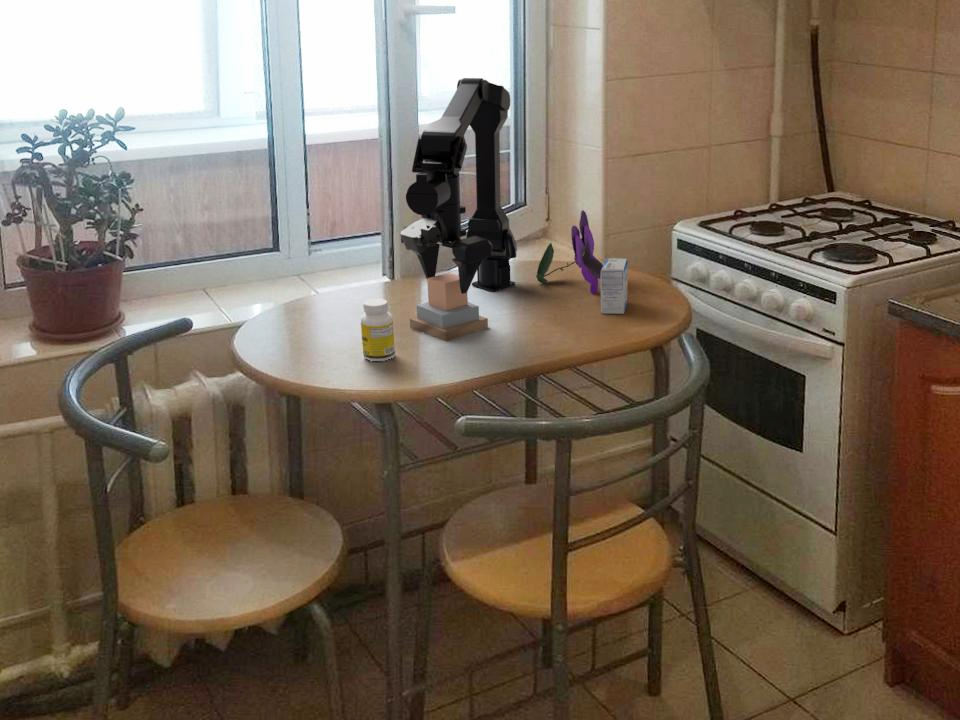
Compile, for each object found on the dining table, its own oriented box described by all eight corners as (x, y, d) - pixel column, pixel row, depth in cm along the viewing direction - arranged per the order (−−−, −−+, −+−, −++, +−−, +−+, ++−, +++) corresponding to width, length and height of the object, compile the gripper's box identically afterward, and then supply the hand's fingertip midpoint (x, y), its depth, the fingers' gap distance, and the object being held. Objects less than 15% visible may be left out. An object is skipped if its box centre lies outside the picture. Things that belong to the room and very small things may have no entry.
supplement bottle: (363, 352, 192) (359, 297, 188) (395, 350, 192) (391, 296, 188) (363, 363, 186) (359, 307, 183) (395, 361, 187) (392, 306, 183)
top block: (417, 318, 202) (416, 305, 202) (453, 309, 207) (452, 296, 206) (442, 329, 196) (442, 315, 196) (479, 319, 201) (478, 306, 200)
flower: (543, 320, 221) (603, 293, 215) (508, 253, 218) (567, 224, 212) (561, 298, 234) (618, 272, 228) (528, 234, 231) (585, 207, 225)
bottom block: (410, 331, 203) (409, 318, 202) (452, 319, 209) (451, 306, 208) (445, 344, 196) (445, 331, 195) (488, 331, 202) (487, 318, 201)
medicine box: (624, 315, 206) (625, 270, 203) (600, 314, 207) (600, 269, 204) (627, 302, 214) (628, 258, 211) (604, 301, 215) (604, 257, 211)
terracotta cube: (428, 305, 201) (427, 278, 200) (450, 298, 204) (448, 272, 203) (446, 310, 198) (444, 283, 196) (467, 304, 201) (466, 277, 199)
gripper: (374, 201, 196) (379, 287, 201) (443, 218, 183) (446, 309, 188) (423, 191, 203) (427, 274, 208) (493, 207, 190) (495, 294, 195)
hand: (447, 287), depth 200 cm, fingers open, 9 cm apart
